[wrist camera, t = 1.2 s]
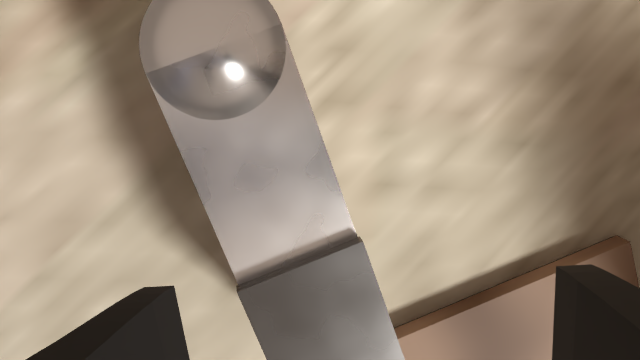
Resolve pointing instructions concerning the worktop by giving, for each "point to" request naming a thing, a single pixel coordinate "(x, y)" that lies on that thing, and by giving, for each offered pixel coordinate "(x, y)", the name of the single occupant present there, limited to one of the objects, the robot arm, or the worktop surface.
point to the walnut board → (507, 313)
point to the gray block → (265, 178)
